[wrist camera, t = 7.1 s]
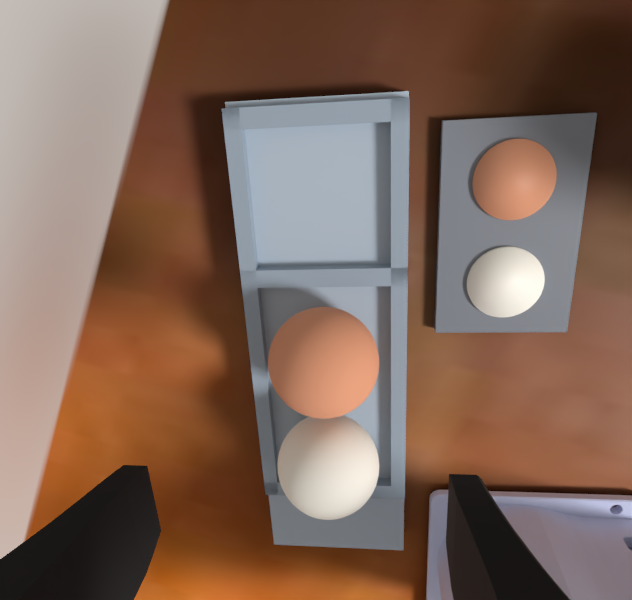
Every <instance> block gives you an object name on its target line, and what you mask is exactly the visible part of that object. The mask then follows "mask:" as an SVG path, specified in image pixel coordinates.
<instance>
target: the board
mask: <svg viewBox="0 0 632 600" xmlns="http://www.w3.org/2000/svg"><path fill="white" fill-rule="evenodd" d="M222 118H223V127H224V136H225V145H226V153H227V162H228V171H229V180H230V188H231V197H232V206H233V215H234V223H235V232H236V241H237V250H238V259H239V267H240V276H241V285H242V294H243V302H244V311H245V320H246V329H247V338H248V346H249V355H250V364H251V373H252V381H253V390H254V399H255V408H256V416H257V425H258V434H259V443H260V452H261V460H262V469H263V478H264V487H265V495H269V504H270V513H271V522H272V531H273V540H274V545H294V546H316V547H338V548H360V549H382V550H404V500H405V456H406V373H407V289H408V206H409V123H410V98H409V91H403V92H386V93H369V94H352V95H335V96H319V97H302V98H285V99H268V100H252V101H235V102H225V108H223V109H222ZM315 307H332V308H337V309H341V310H343V311H346V312H348V313H350V314H351V315H353V316H355V317H356V318H357V319H359V320H360V321H361V322H362V323H363V324H364V325H365V326H366V327H367V329H368V330H369V331H370V333H371V335H372V336H373V338H374V340H375V343H376V346H377V350H378V354H379V372H378V376H377V380H376V383H375V385H374V387H373V389H372V391H371V393H370V394H369V396H368V397H367V398H366V400H365V401H364V402H363V403H362V404H361V405H359V406H358V407H357V408H356V409H354V410H353V411H351V412H349V413H347V414H345V415H344V416H346V417H349V418H351V419H353V420H354V421H356V422H357V423H359V424H360V425H361V426H362V427H363V428H364V429H365V430H366V431H367V432H368V434H369V435H370V437H371V439H372V440H373V442H374V444H375V447H376V449H377V453H378V458H379V476H378V480H377V484H376V487H375V489H374V491H373V493H372V495H371V497H370V498H369V500H368V501H367V502H366V503H365V504H364V505H363V506H362V507H361V508H360V509H359V510H357V511H356V512H354V513H353V514H351V515H349V516H346V517H344V518H340V519H335V520H322V519H317V518H314V517H311V516H308V515H306V514H305V513H303V512H301V511H300V510H299V509H297V508H296V507H295V506H294V505H293V504H292V503H291V502H290V501H289V499H288V498H287V496H286V495H285V493H284V491H283V489H282V487H281V484H280V481H279V477H278V463H277V462H278V456H279V451H280V448H281V445H282V443H283V441H284V439H285V437H286V436H287V434H288V433H289V431H290V430H291V429H292V428H293V427H294V426H295V425H296V424H298V423H299V422H300V421H302V420H304V419H305V418H307V417H309V416H305V415H303V414H300V413H298V412H296V411H295V410H293V409H292V408H290V407H289V406H288V405H287V404H286V403H285V402H284V401H283V400H282V399H281V398H280V397H279V395H278V394H277V392H276V391H275V389H274V387H273V384H272V382H271V379H270V375H269V370H268V356H269V350H270V346H271V343H272V341H273V339H274V337H275V335H276V333H277V332H278V330H279V329H280V327H281V326H282V325H283V324H284V323H285V322H286V321H287V320H288V319H289V318H291V317H292V316H294V315H295V314H297V313H299V312H301V311H304V310H307V309H310V308H315Z"/></svg>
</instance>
